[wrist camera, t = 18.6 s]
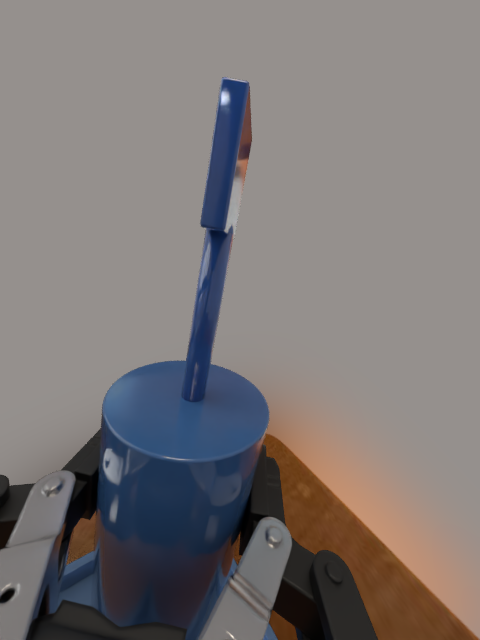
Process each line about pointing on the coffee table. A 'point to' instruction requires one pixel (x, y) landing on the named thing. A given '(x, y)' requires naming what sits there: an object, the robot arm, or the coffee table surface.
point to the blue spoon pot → (182, 437)
